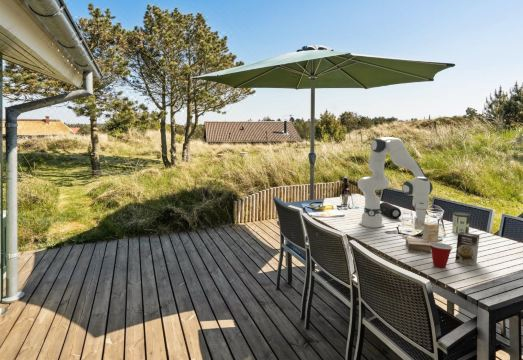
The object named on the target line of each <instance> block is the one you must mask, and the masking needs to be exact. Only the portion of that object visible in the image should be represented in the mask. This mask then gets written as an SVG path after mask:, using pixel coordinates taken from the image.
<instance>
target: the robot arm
mask: <svg viewBox="0 0 523 360" xmlns="http://www.w3.org/2000/svg"><path fill="white" fill-rule="evenodd" d="M370 148H371V151H370V157H369V160H368V161H369V162H368V168H367V169H368V170H369V171H371V172H372V174H371V175H372V176H364V177H361V178H359V179H358V180H357V188H358V189H359V190H360V191H361V192H362V194H363V196H364V208H363V212H362V213H361V220H360V221H359V222H358V224H359V225H362V226H363V227H366V228H373V229H374V228H381V227H383V228H385V224H384V223H383V215H382V214H381V211H380V204H381V197H380V196H378V195H377V194H376V191H381V190H384V189H387V188H389V184H390V180H389V179H388V177H387V176H386V175H385V163H386V156H387V154H388V153H389V156H390V160H391V162H392V163H393V164H394V165H396V166H398V168H399V167H400V168H403V169H407V170H409V171H410V172H411V173H412V174H413V176H414V178H413V179H409V180H406V181H404V182H403V183H402V186H401V191H402V193H403V194H404V195H405V196H413V197H412V207H414V209H415V218H417V220H418V227H422V222H424V221H426V216H427V210H428V209H429V207H430V195H431V193H432V192H433V187H434V186H433V184H432V181H430V179H429V178H428V177H427V176H426V174H425V172H424V170H423V169H422V167H421V166H420V164H419V163H418V161H417V160H416V159H414V158H413V157H412V156H411V154H410V153H409V151H408V149H407V147H406V145H405V143H404V142H403V140H402V139H400V138H398V137H389V136H388V137H376V138H374V139H373V140H372V141H371V143H370Z"/></svg>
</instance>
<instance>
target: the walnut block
mask: <svg viewBox="0 0 523 360" xmlns="http://www.w3.org/2000/svg"><path fill="white" fill-rule="evenodd" d="M405 246H406V249H407V250H408V252H414V251H416V253H427V254H432V252H431V246H430V243H429V242H428V240H427V239H423V238H418V237H417V238H415V237H407V236H406V237H405Z"/></svg>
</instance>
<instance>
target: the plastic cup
mask: <svg viewBox="0 0 523 360" xmlns="http://www.w3.org/2000/svg"><path fill="white" fill-rule="evenodd" d="M430 246H431V259H432V265H433V266H434V267H435V268H437V269H445V268H446V267H447V265H448V264H447V263H448V261H449V257H450V254H451V251H452V250H453V248H454V246H452V245H450V244H447V243H443V242H438V243H436V242H432V243H430Z"/></svg>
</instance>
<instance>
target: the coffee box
mask: <svg viewBox="0 0 523 360" xmlns="http://www.w3.org/2000/svg"><path fill="white" fill-rule="evenodd" d="M456 240H457V241H456V252H455V262H456V263H461V264H463V265H469V266H472V267H475V266H476V265H477V261H478V250H479V242H480V235H479V234H475V233H470V232H469V233H465V232H459V233H458V234H457V239H456Z"/></svg>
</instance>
